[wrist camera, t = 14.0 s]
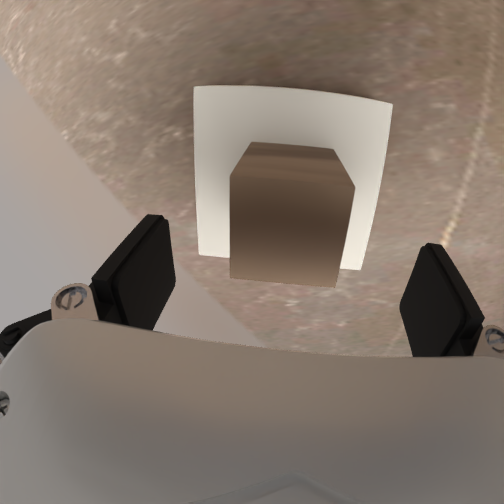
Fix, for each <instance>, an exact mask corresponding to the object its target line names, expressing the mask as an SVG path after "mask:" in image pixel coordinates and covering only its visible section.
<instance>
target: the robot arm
mask: <svg viewBox="0 0 504 504" xmlns="http://www.w3.org/2000/svg"><path fill="white" fill-rule="evenodd" d="M91 279H92V283H91V284H90V285H89V286H87V285H85V284H82V283H74V284H70V285H67V286H65V287H63V288H61V289H60V290H58V291H57V292H56V294H54V296H53V298H52V301H51V309H50V310H48V311H44V312H42V313H39V314H37V315H34V316H31V317H29V318H26V319H24V320H22V321H18V322H16V323H14V324H11V325H9V326H7V327H6V328H5V329H4V330H3V331H2V332H1V334H0V504H504V330H503V329H502V328H500V327H498V326H495V325H487V326H485V327H484V328H483V326H482V322H483V320H484V319H485V317H484V315H483V313H482V311H481V310H480V308H479V306H478V304H477V302H476V300H475V299H474V297H473V295H472V293H471V292H470V290H469V288H468V286H467V285H466V283H465V281H464V280H463V278H462V276H461V275H460V273H459V271H458V270H457V268H456V266H455V265H454V263H453V262H452V260H451V259H450V257H449V255H448V254H447V252H446V251H445V249H444V248H443V246H442V245H440V244H433V243H427V244H426V245H425V246H422V247H421V249H420V252H419V254H418V257H417V260H416V263H415V266H414V268H413V271H412V274H411V276H410V279H409V282H408V284H407V287H406V289H405V292H404V294H403V297H402V299H401V302H400V313H401V316H402V319H403V323H404V326H405V329H406V333H407V336H408V340H409V344H410V347H411V351H412V355H413V357H389V356H361V355H343V354H327V353H313V352H302V351H291V350H281V349H271V348H262V347H254V346H246V345H238V344H230V343H223V342H216V341H209V340H203V339H197V338H191V337H185V336H178V335H173V334H167V333H162V332H157V331H152V330H153V328H154V326H155V324H156V322H157V320H158V318H159V316H160V314H161V312H162V310H163V308H164V306H165V304H166V302H167V301H168V299H169V297H170V295H171V293H172V291H173V289H174V287H175V282H176V277H175V270H174V263H173V255H172V247H171V239H170V230H169V223H168V220H167V219H164V217H163V216H162V215H151V214H148V215H146V216H145V217H144V218H143V220H142V221H141V222H140V223H139V224H138V225H137V226H136V227H135V228H134V229H133V230H132V232H131V233H130V234H129V235H128V236H127V237H126V238H125V239H124V240H123V242H122V243H121V244H120V245H119V246H118V247H117V248H116V250H115V251H114V252H113V253H112V254H111V255H110V257H109V258H108V259H107V260H106V261H105V262H104V263H103V265H102V266H101V267H100V268H99V269H98V271H97V272H96V273H95V274H94V275H93V277H92V278H91Z"/></svg>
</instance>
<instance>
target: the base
mask: <svg viewBox="0 0 504 504" xmlns="http://www.w3.org/2000/svg"><path fill="white" fill-rule="evenodd" d="M392 107H393V104H391V103H387V102H383V101H379V100H375V99H370V98H364V97H359V96H353V95H346V94H340V93H333V92H325V91H317V90H308V89H298V88H286V87H271V86H249V85H207V86H195V87H194V160H195V190H196V212H197V231H198V247H199V255H206V256H216V257H226V258H230V219H229V200H230V174H231V173H232V171H233V170H234V168H235V166H236V165H237V163H238V162H239V160H240V158H241V157H242V155H243V154H244V152H245V151H246V149H247V148H248V146H249V144H250V143H251V142H265V143H279V144H291V145H302V146H312V147H321V148H329V149H334V151H335V152H336V154H337V156H338V157H339V159H340V161H341V162H342V164H343V166H344V168H345V169H346V171H347V173H348V175H349V176H350V178H351V180H352V182H353V184H354V185H355V187H356V188H355V194H354V199H353V205H352V210H351V216H350V221H349V226H348V231H347V236H346V241H345V246H344V251H343V255H342V260H341V264H340V268H343V269H354V270H361V266H362V262H363V259H364V255H365V251H366V247H367V243H368V239H369V235H370V231H371V226H372V222H373V218H374V213H375V208H376V204H377V199H378V194H379V189H380V184H381V179H382V173H383V168H384V162H385V156H386V150H387V144H388V137H389V130H390V123H391V115H392Z"/></svg>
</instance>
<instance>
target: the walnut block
mask: <svg viewBox="0 0 504 504" xmlns="http://www.w3.org/2000/svg"><path fill="white" fill-rule="evenodd" d="M355 188H356V187H355V185H354V184H353V182H352V180H351V178H350V176H349V175H348V173H347V171H346V169H345V168H344V166H343V164H342V162H341V161H340V159H339V157H338V156H337V154H336V152H335V151H334V149H329V148H321V147H312V146H302V145H291V144H279V143H265V142H251V143H250V144H249V146H248V148H247V149H246V151H245V152H244V154H243V155H242V157H241V158H240V160H239V162H238V163H237V165H236V166H235V168H234V170H233V171H232V173H231V174H230V200H229V219H230V278H235V279H244V280H254V281H265V282H275V283H286V284H297V285H309V286H320V287H333V288H335V286H336V282H337V277H338V273H339V269H340V264H341V260H342V255H343V251H344V246H345V241H346V236H347V231H348V226H349V221H350V216H351V210H352V205H353V199H354V194H355Z"/></svg>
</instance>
